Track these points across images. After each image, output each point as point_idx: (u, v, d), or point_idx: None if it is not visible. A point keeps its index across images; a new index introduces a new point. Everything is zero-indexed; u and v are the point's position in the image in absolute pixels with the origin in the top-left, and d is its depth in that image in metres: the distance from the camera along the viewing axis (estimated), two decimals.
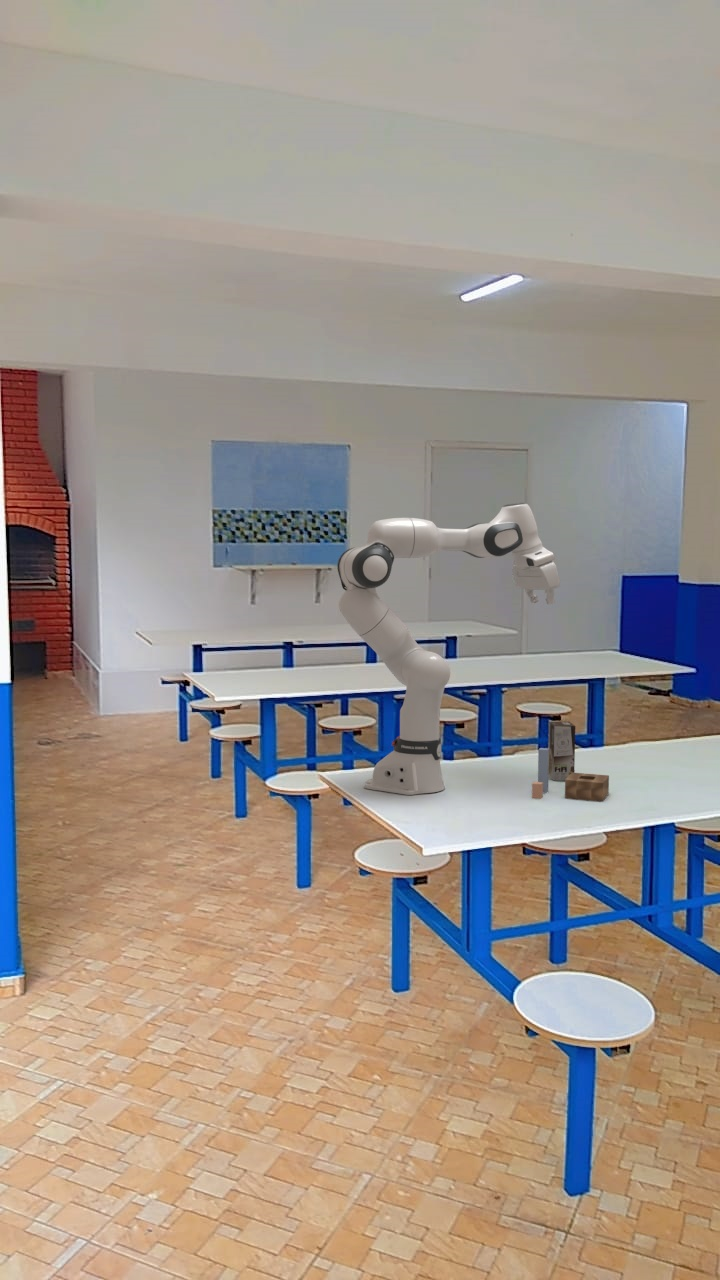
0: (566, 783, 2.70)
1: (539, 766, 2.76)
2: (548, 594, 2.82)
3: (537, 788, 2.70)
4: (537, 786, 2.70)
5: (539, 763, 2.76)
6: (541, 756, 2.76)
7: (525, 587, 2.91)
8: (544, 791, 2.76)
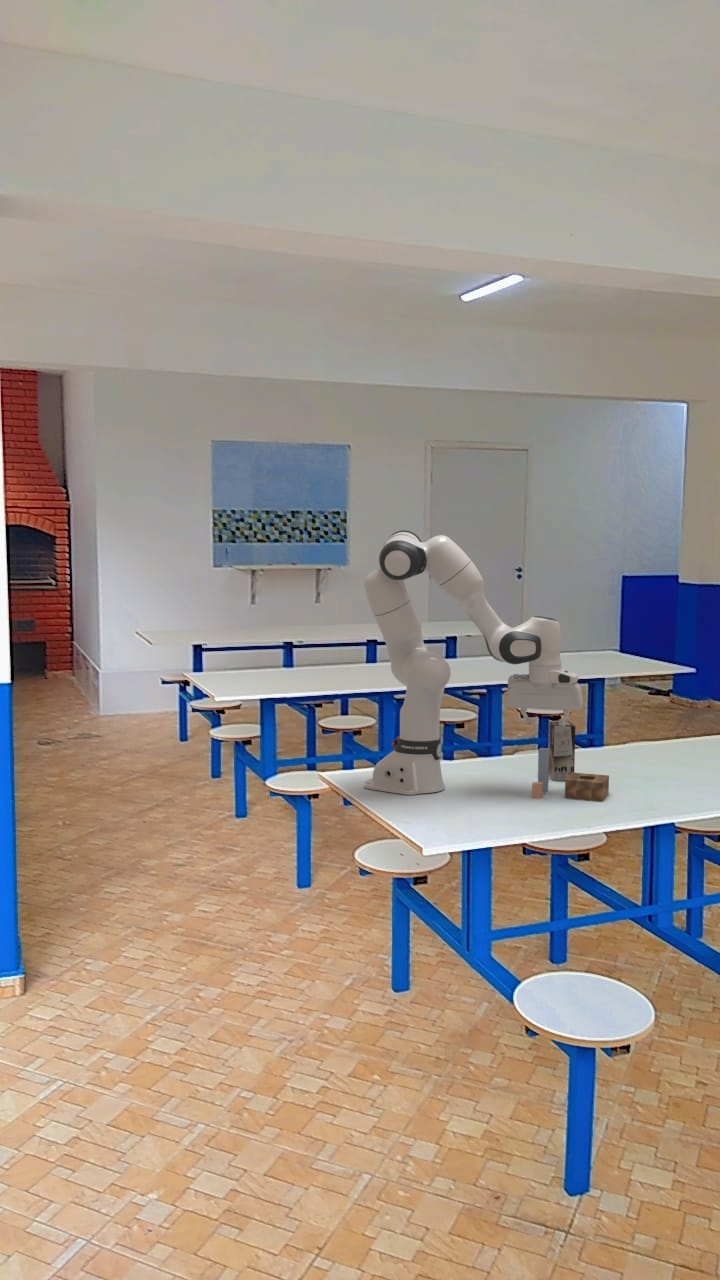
0: (566, 783, 2.70)
1: (539, 766, 2.76)
2: (567, 715, 2.73)
3: (537, 788, 2.70)
4: (537, 786, 2.70)
5: (539, 763, 2.76)
6: (541, 756, 2.76)
7: (528, 706, 2.76)
8: (544, 791, 2.76)
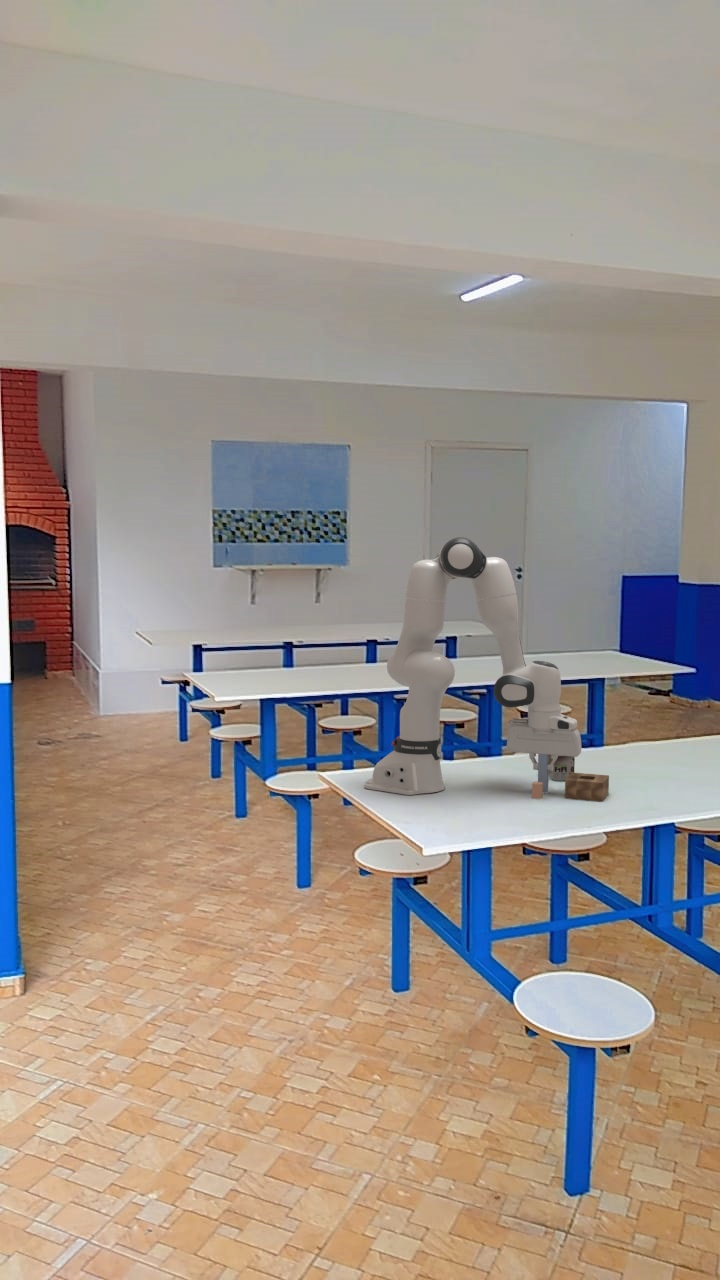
0: (566, 783, 2.70)
1: (539, 766, 2.76)
2: (555, 760, 2.75)
3: (537, 788, 2.70)
4: (537, 786, 2.70)
5: (539, 763, 2.76)
6: (541, 756, 2.76)
7: (526, 751, 2.77)
8: (544, 791, 2.76)
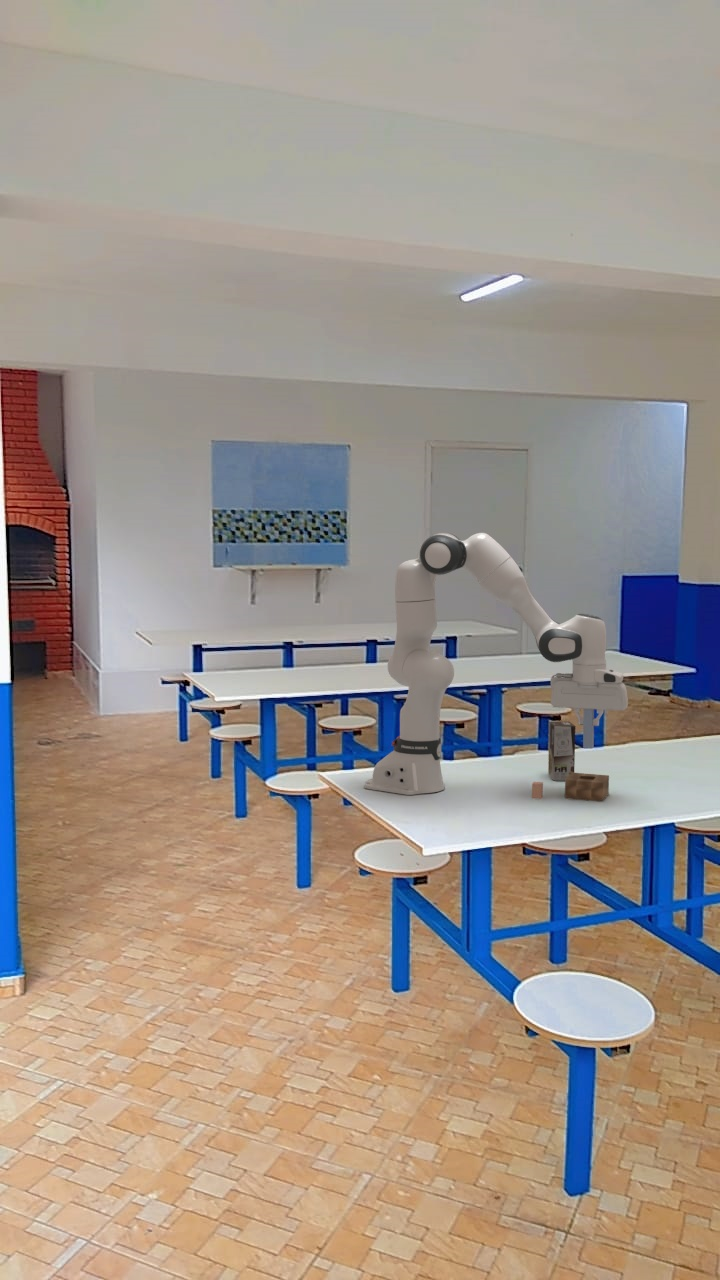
0: (566, 783, 2.70)
1: (584, 721, 2.71)
2: (601, 715, 2.69)
3: (537, 788, 2.70)
4: (537, 786, 2.70)
5: (584, 718, 2.71)
6: (586, 711, 2.70)
7: (571, 705, 2.71)
8: (590, 746, 2.71)
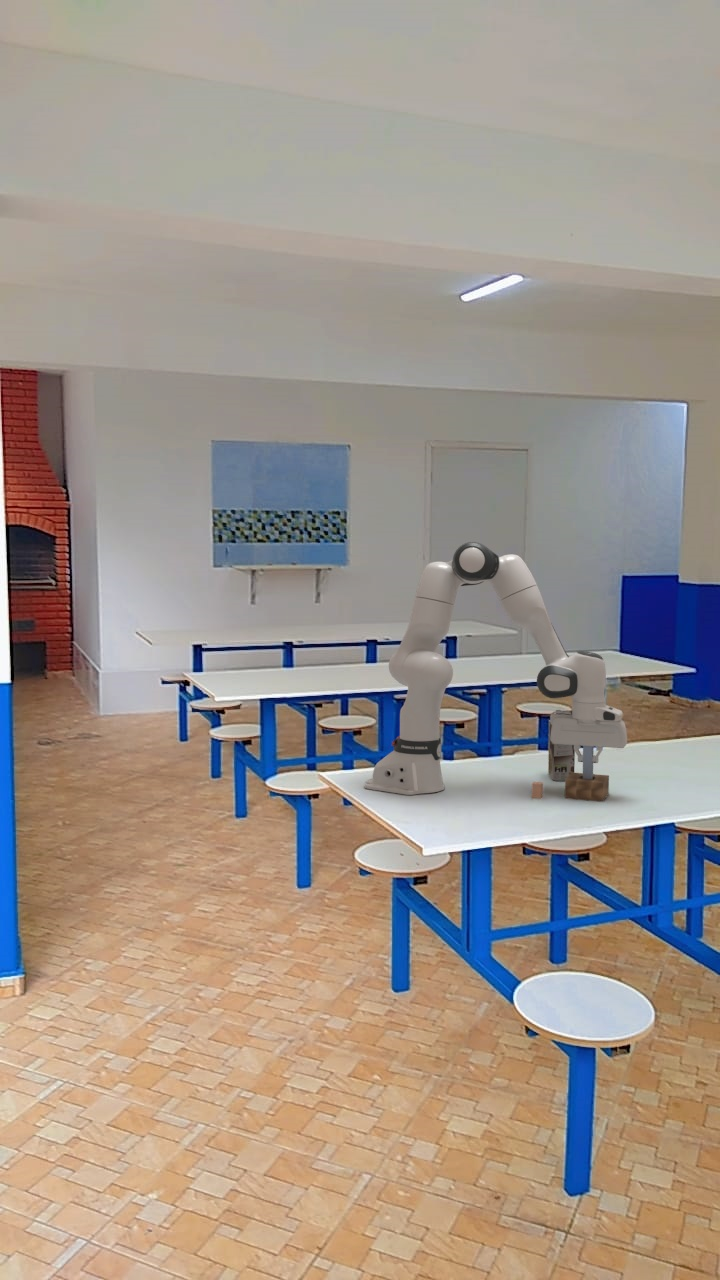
0: (566, 783, 2.70)
1: (584, 758, 2.72)
2: (600, 752, 2.70)
3: (537, 788, 2.70)
4: (537, 786, 2.70)
5: (584, 755, 2.72)
6: (586, 748, 2.71)
7: (571, 743, 2.72)
8: None
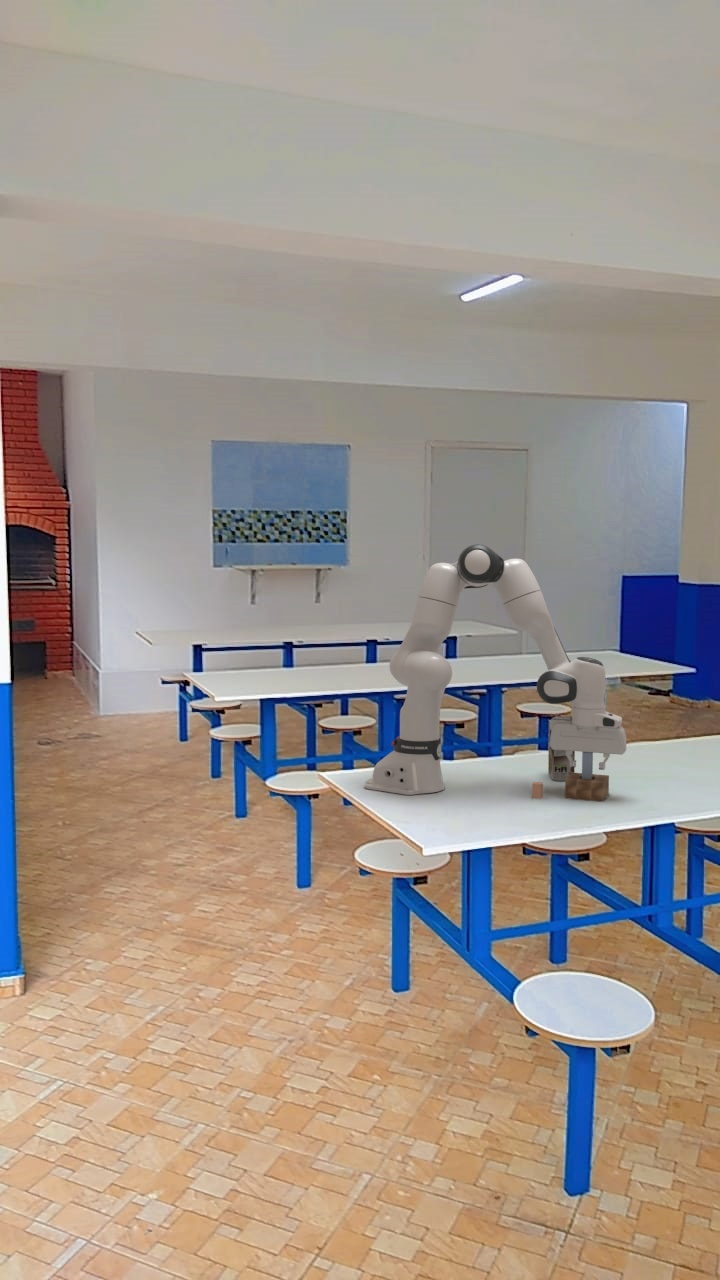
0: (566, 783, 2.70)
1: (583, 769, 2.72)
2: (607, 759, 2.69)
3: (537, 788, 2.70)
4: (537, 786, 2.70)
5: (583, 766, 2.72)
6: (585, 760, 2.71)
7: (570, 748, 2.72)
8: None
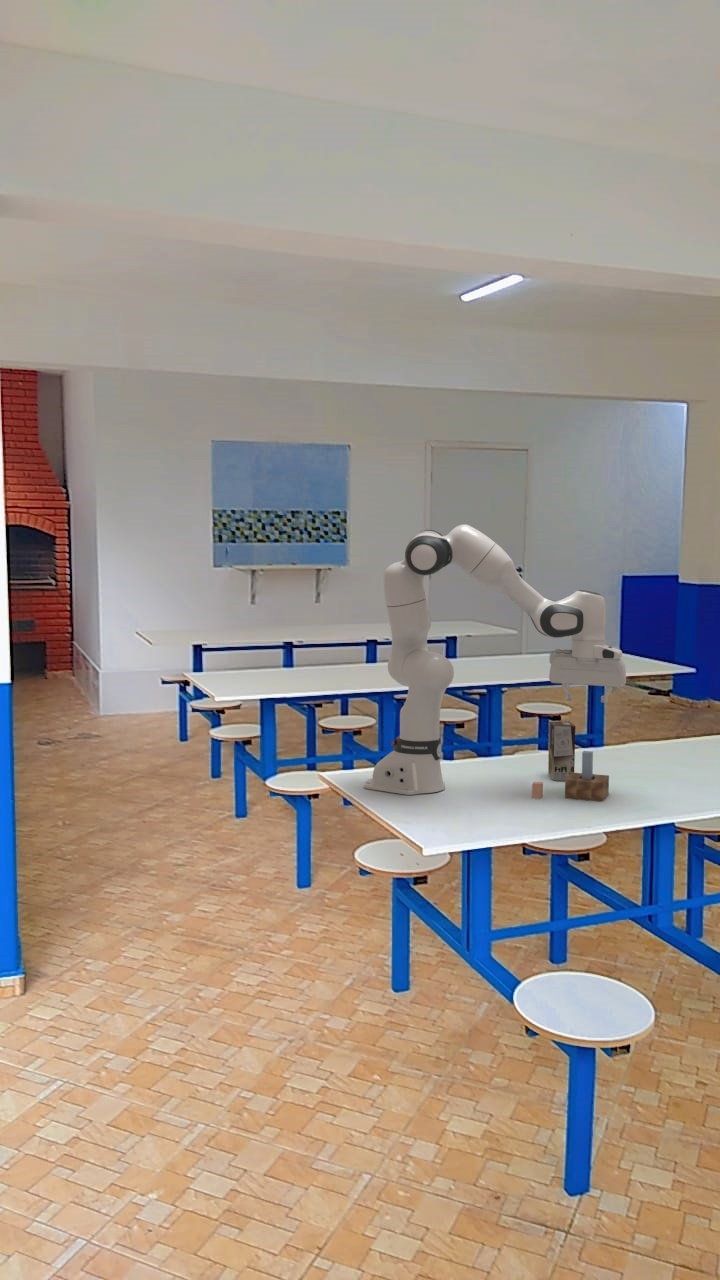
0: (566, 783, 2.70)
1: (583, 769, 2.72)
2: (609, 691, 2.69)
3: (537, 788, 2.70)
4: (537, 786, 2.70)
5: (583, 766, 2.72)
6: (585, 760, 2.71)
7: (570, 681, 2.72)
8: None
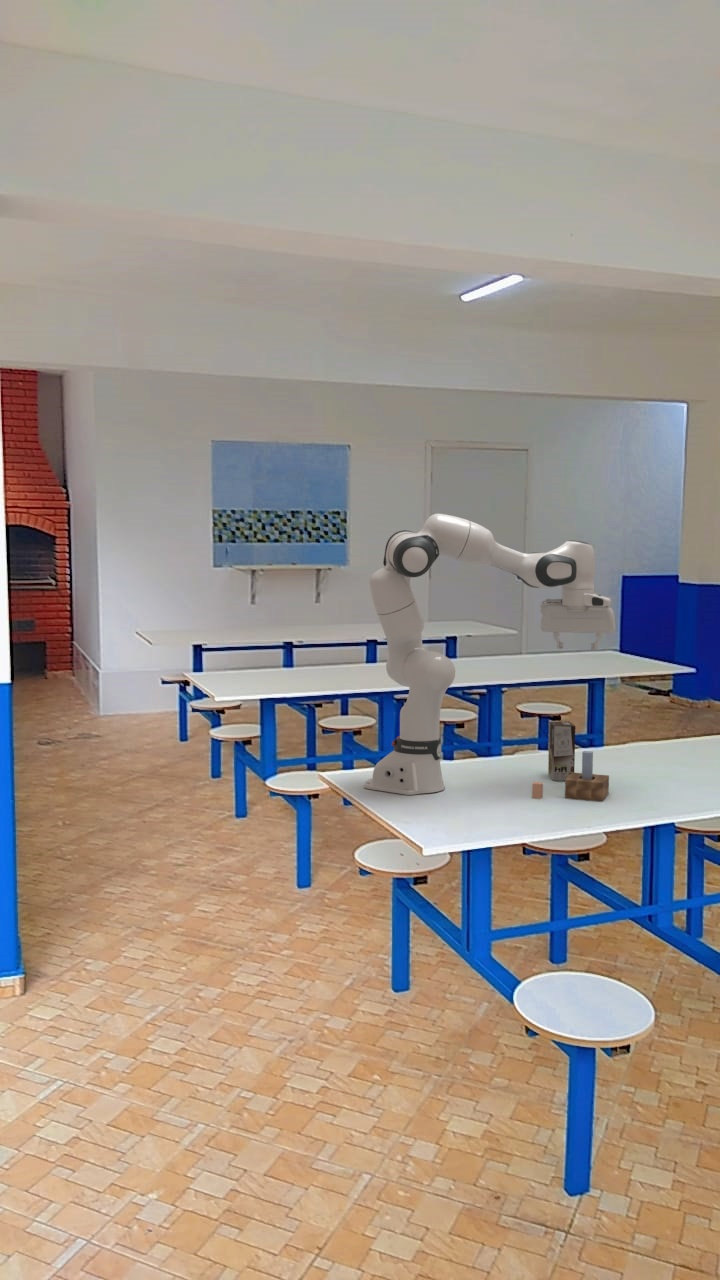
0: (566, 783, 2.70)
1: (583, 769, 2.72)
2: (599, 638, 2.77)
3: (537, 788, 2.70)
4: (537, 786, 2.70)
5: (583, 766, 2.72)
6: (585, 760, 2.71)
7: (560, 630, 2.80)
8: None
